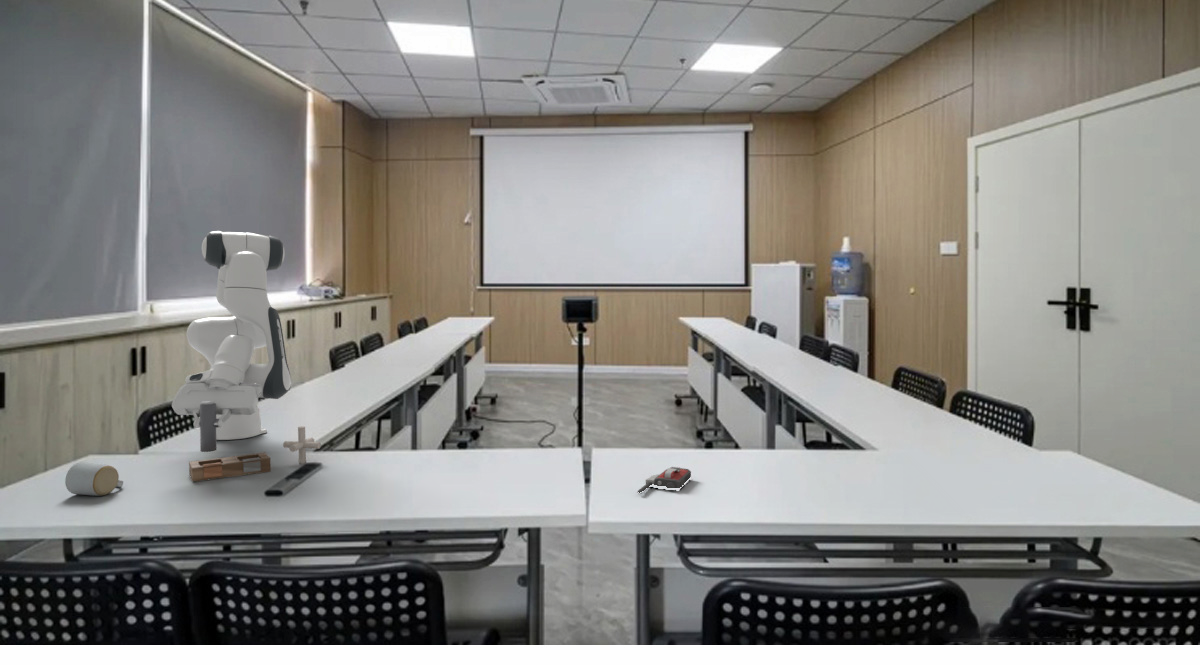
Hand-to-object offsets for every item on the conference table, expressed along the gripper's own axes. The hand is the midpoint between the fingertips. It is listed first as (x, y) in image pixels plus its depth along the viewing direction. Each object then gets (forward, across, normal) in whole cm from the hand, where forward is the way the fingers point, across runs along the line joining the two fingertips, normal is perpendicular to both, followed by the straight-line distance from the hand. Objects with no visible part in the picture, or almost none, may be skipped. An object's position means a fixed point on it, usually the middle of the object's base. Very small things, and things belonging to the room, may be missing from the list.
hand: (207, 426), depth 180 cm
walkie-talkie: (+21, -116, +4) cm, 118 cm away
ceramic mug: (+18, +20, -2) cm, 27 cm away
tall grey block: (+4, 0, -5) cm, 6 cm away
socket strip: (+6, -4, -12) cm, 14 cm away
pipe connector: (-1, -19, -19) cm, 27 cm away
